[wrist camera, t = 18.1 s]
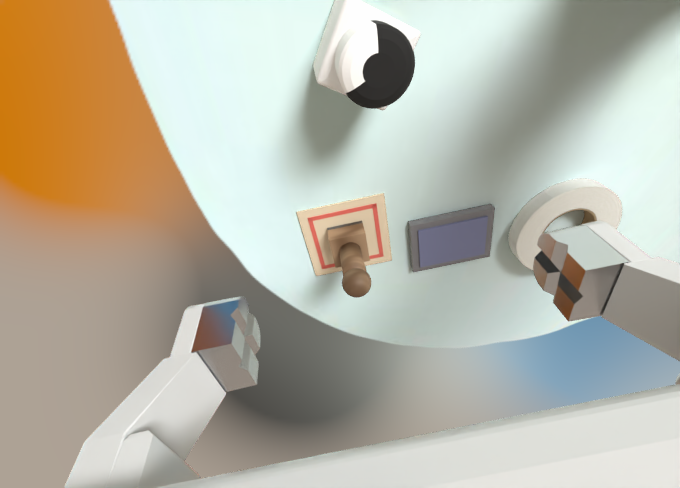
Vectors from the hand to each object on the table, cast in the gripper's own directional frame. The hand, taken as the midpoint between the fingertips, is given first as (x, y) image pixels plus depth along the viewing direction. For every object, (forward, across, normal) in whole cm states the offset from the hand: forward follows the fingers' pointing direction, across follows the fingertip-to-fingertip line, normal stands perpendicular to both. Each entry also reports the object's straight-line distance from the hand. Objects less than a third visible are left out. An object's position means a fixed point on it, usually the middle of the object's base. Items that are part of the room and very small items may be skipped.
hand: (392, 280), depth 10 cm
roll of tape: (+35, -31, +30) cm, 55 cm away
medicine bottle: (+34, -4, 0) cm, 35 cm away
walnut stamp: (+34, +1, +24) cm, 41 cm away
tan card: (+34, +1, +24) cm, 42 cm away
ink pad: (+34, -14, +28) cm, 46 cm away
